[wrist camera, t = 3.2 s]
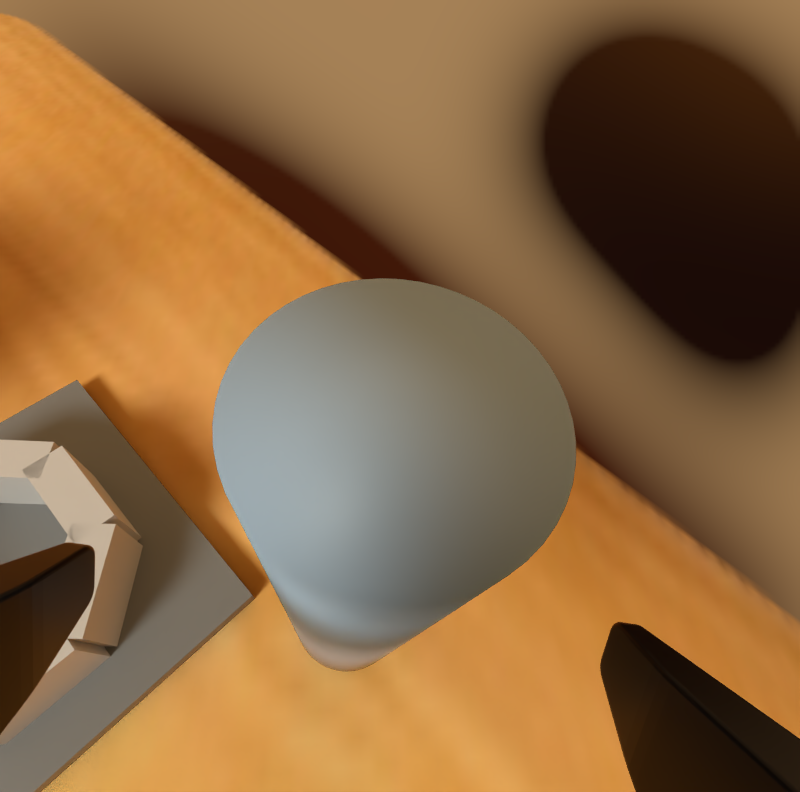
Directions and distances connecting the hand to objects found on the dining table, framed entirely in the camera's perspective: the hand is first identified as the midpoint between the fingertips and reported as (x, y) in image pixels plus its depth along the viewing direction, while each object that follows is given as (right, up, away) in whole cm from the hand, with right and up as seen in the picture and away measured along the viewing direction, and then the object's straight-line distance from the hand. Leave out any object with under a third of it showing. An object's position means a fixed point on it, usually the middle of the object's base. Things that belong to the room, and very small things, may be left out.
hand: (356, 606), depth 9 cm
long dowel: (-1, -4, +8) cm, 9 cm away
